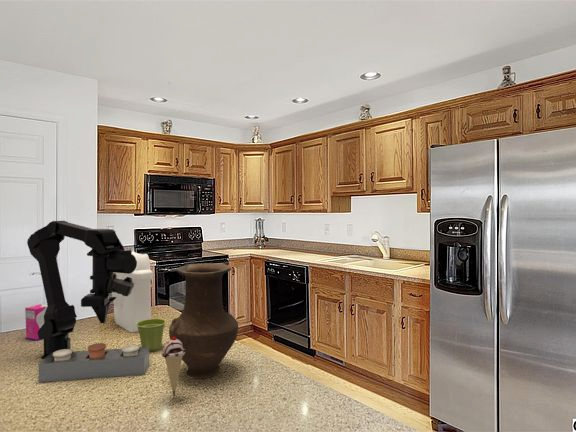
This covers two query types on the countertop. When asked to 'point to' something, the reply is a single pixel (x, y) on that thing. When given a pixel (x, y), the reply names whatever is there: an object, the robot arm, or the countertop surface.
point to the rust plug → (97, 350)
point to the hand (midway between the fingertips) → (103, 322)
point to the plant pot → (151, 333)
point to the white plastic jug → (135, 296)
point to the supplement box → (34, 320)
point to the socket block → (94, 365)
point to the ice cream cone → (173, 359)
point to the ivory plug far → (130, 350)
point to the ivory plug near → (62, 354)
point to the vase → (204, 320)
